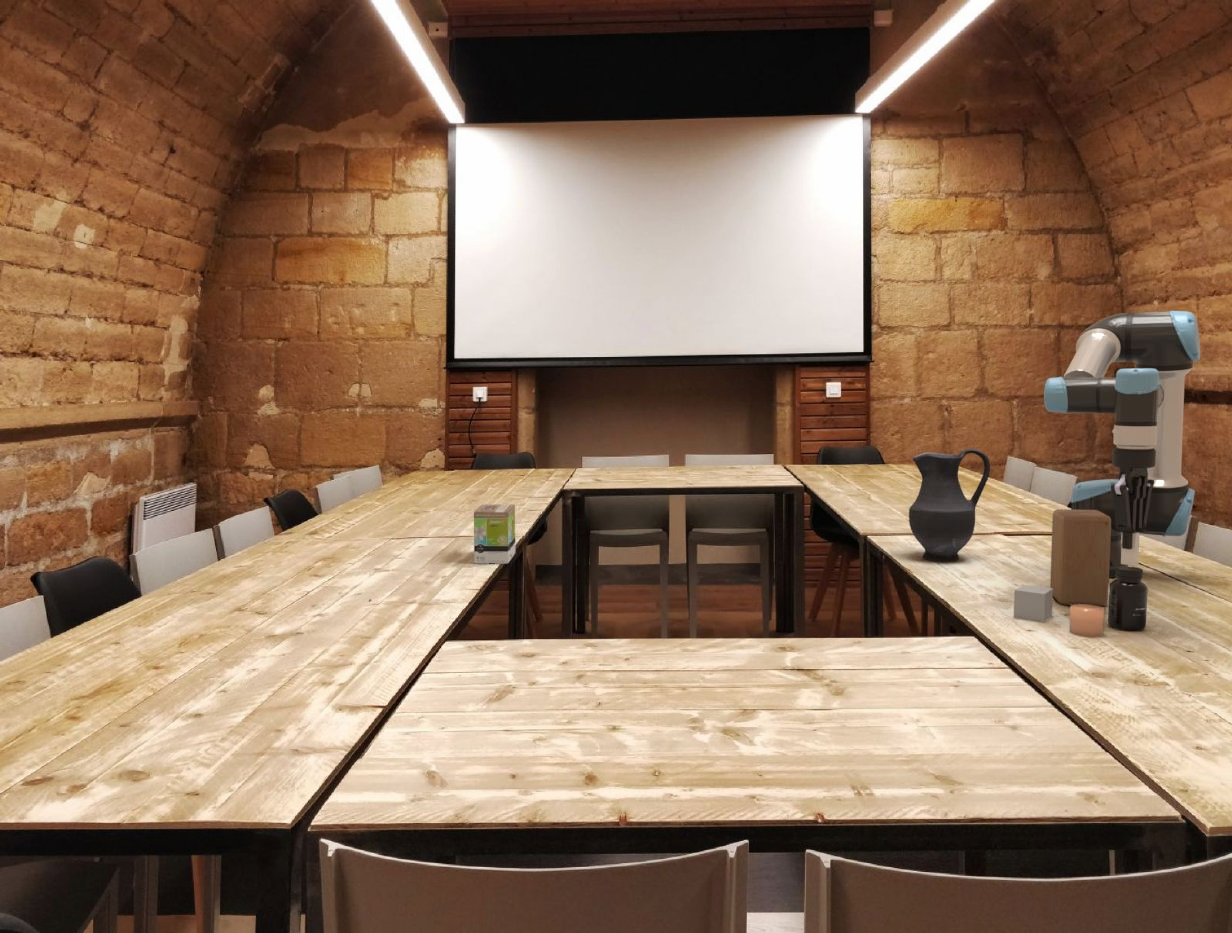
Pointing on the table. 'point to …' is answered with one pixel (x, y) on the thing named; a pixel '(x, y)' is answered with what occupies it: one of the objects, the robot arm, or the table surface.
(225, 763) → the table surface
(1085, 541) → the wooden block
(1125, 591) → the supplement bottle
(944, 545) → the pitcher
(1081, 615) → the terracotta puck
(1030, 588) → the grey cube
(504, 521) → the tea box
